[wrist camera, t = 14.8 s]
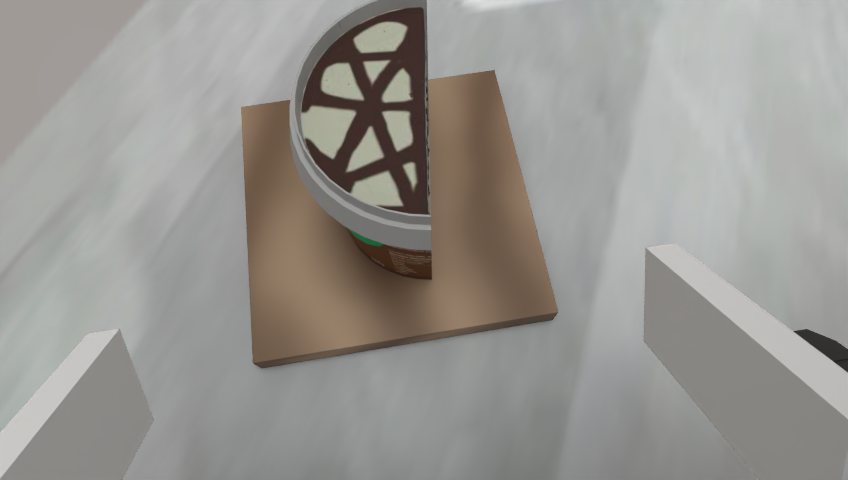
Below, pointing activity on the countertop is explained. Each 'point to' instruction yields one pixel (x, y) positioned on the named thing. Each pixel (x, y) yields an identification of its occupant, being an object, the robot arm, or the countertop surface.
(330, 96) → the food container
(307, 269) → the walnut board
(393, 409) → the countertop surface
